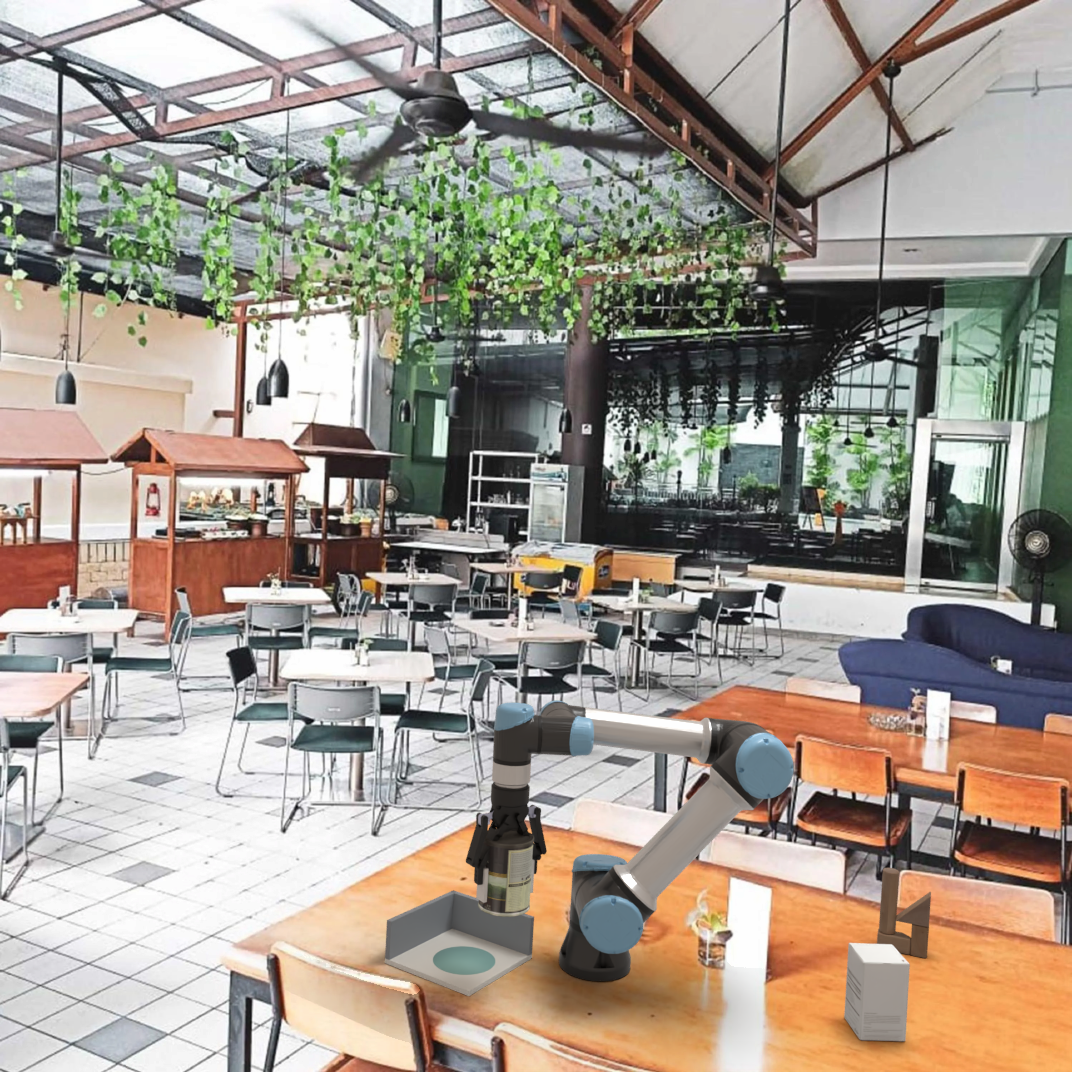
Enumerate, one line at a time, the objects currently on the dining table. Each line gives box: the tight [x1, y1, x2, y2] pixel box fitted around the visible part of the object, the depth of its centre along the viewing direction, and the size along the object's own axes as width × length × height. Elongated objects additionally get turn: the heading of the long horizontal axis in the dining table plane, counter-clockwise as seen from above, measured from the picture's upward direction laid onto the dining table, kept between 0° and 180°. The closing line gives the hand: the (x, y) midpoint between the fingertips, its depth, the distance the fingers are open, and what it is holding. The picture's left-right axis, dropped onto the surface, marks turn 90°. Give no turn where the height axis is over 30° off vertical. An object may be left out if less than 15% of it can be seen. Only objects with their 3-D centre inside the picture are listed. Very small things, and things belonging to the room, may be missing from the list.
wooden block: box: [876, 867, 932, 959], centre depth 231 cm, size 4×11×18 cm, turn 68°
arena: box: [384, 889, 535, 997], centre depth 213 cm, size 22×22×9 cm
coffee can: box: [478, 828, 534, 917], centre depth 199 cm, size 10×10×14 cm
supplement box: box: [843, 942, 911, 1042], centre depth 194 cm, size 9×9×15 cm
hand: (504, 895), depth 199 cm, fingers closed on coffee can, 10 cm apart
